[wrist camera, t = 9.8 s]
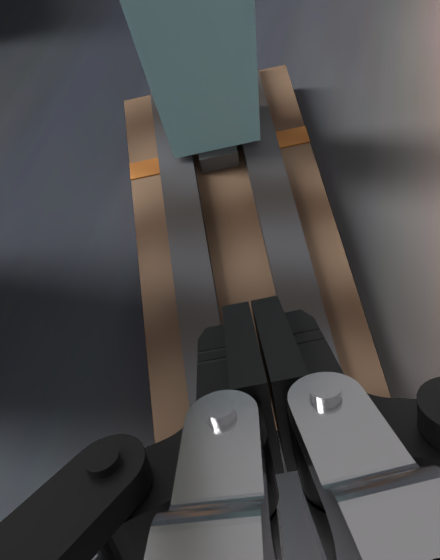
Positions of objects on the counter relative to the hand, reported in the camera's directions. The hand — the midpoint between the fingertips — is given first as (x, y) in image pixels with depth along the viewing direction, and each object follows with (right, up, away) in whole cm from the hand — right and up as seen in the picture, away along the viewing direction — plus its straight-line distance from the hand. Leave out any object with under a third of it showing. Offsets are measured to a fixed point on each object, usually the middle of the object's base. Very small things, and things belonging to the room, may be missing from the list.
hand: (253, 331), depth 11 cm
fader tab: (-1, +10, +14) cm, 17 cm away
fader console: (0, +4, +14) cm, 14 cm away
